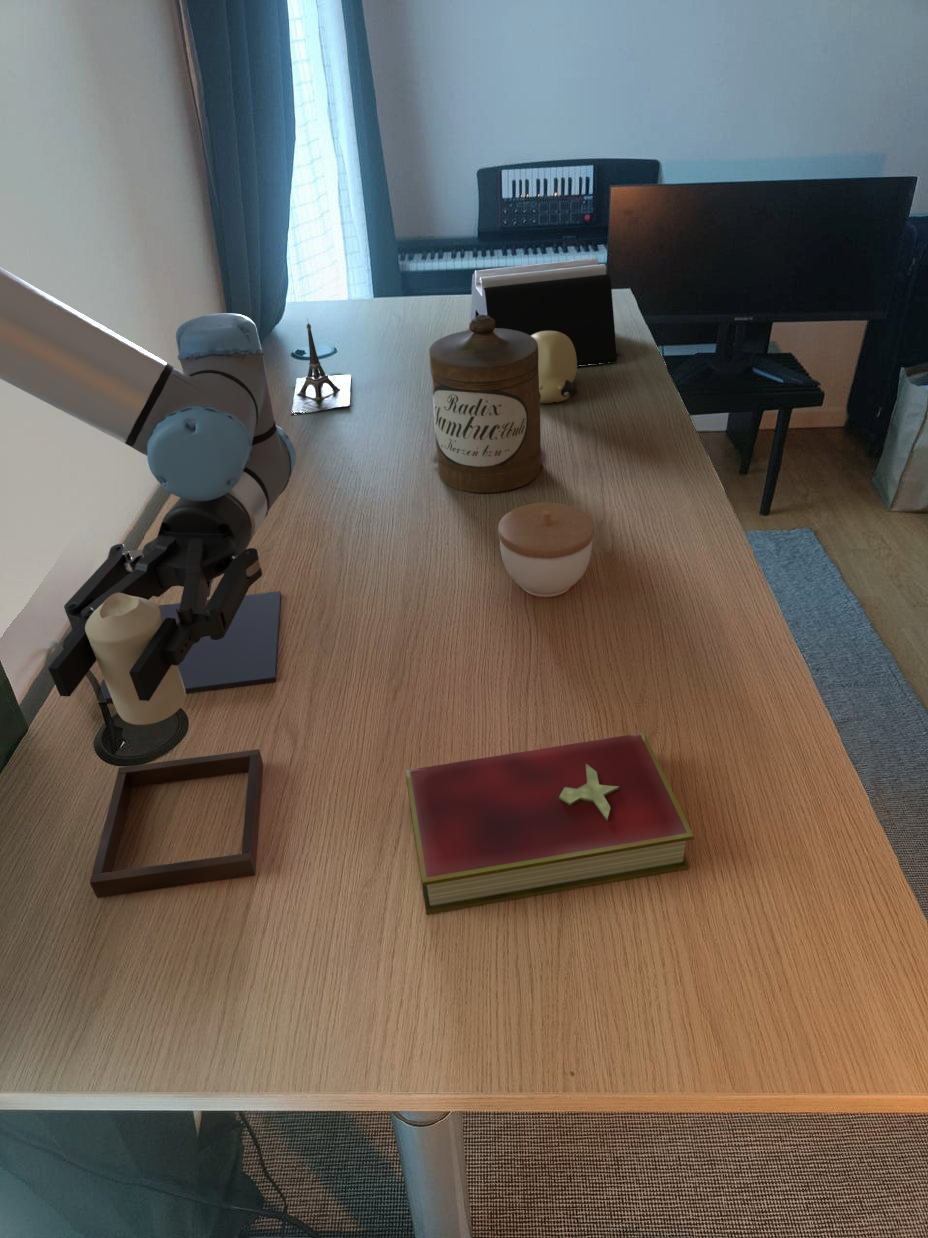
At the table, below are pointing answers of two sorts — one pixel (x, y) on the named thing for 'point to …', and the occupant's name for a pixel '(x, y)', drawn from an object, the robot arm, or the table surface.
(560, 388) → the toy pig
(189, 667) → the felt mat
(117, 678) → the candle
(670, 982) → the table surface
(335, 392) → the eiffel tower figurine
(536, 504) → the trinket box
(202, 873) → the square wooden frame
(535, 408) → the wooden container
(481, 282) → the device stand
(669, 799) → the hardcover book
